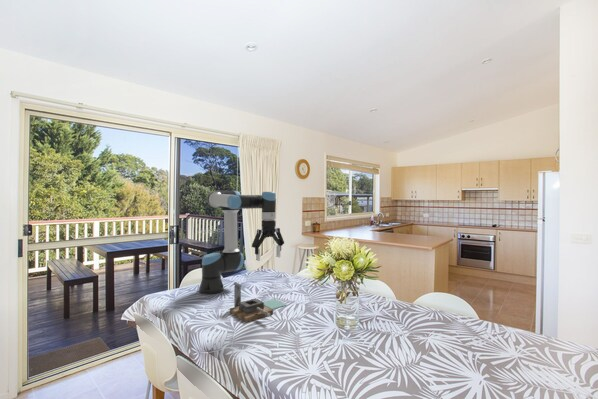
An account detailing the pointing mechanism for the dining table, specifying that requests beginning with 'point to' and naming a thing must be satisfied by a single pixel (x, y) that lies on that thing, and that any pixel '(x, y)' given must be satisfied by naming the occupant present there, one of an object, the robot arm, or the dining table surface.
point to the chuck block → (251, 310)
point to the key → (237, 294)
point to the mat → (274, 304)
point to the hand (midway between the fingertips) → (268, 258)
